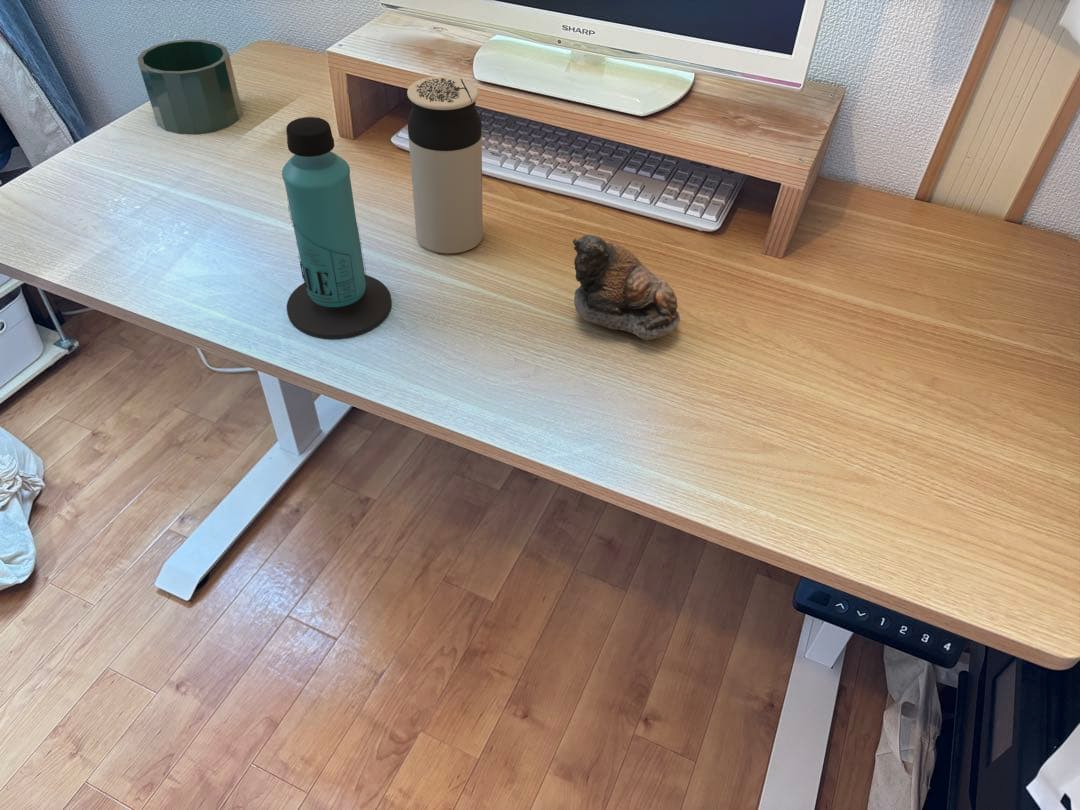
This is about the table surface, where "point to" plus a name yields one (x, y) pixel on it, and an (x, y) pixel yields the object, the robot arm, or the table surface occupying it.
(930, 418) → the table surface
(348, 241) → the beverage bottle
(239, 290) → the table surface
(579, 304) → the bison figurine
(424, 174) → the travel mug
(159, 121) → the pot
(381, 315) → the coaster
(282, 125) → the table surface
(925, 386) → the table surface
